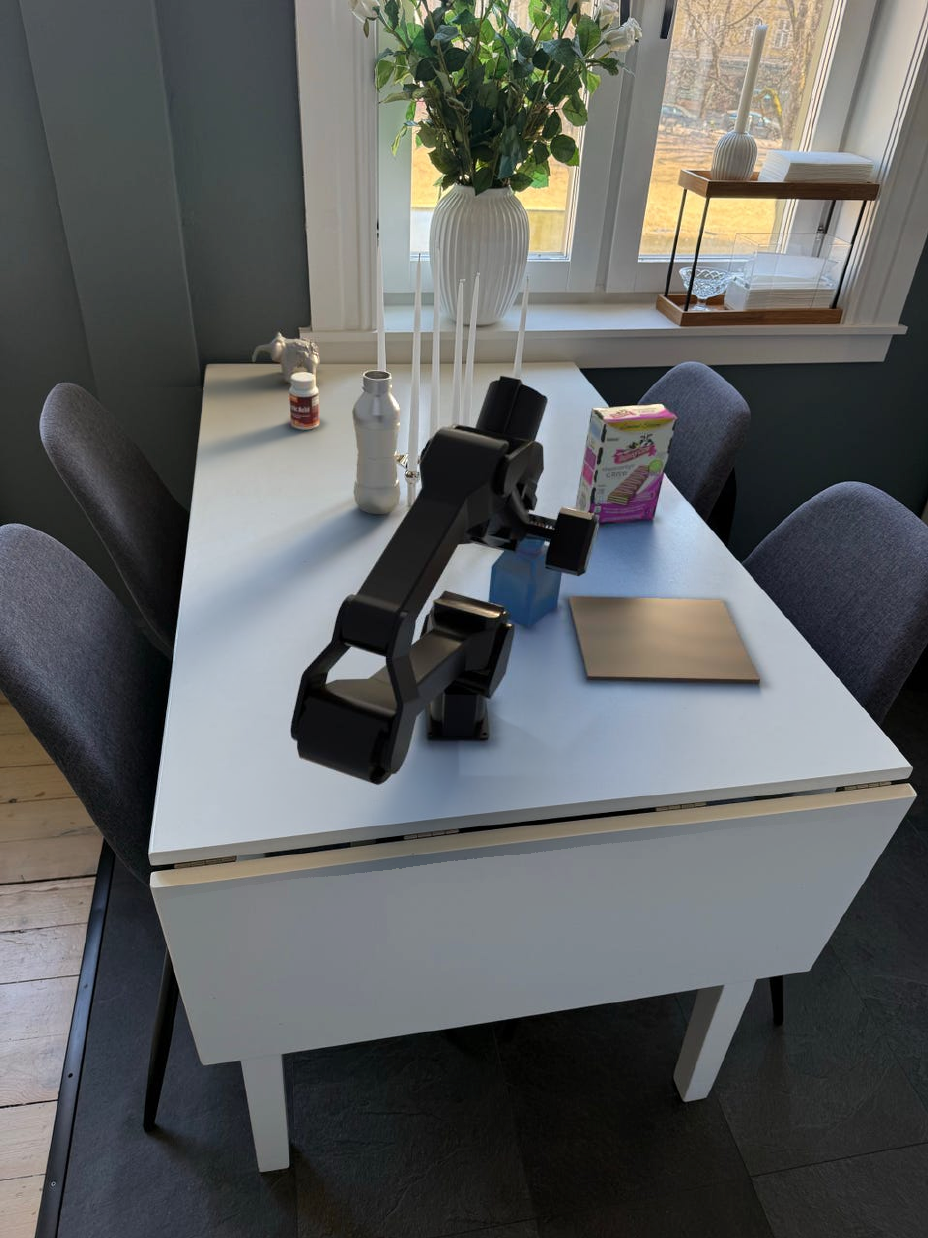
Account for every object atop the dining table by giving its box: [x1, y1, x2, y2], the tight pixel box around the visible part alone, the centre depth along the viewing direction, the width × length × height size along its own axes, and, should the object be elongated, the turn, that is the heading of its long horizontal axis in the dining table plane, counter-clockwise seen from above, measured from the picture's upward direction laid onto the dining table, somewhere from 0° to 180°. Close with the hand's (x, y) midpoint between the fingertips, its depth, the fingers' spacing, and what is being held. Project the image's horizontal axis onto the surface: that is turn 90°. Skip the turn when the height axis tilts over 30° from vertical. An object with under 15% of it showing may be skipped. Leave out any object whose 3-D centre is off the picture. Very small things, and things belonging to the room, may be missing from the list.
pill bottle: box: [288, 371, 320, 431], centre depth 152 cm, size 5×5×8 cm
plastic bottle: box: [351, 369, 402, 515], centre depth 126 cm, size 6×7×20 cm
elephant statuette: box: [251, 331, 321, 384], centre depth 168 cm, size 9×12×8 cm
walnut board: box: [567, 595, 761, 684], centre depth 110 cm, size 16×20×1 cm
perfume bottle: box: [487, 522, 563, 629], centre depth 111 cm, size 6×6×12 cm
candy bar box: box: [574, 403, 678, 526], centre depth 130 cm, size 11×5×16 cm, turn 108°
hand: (516, 547), depth 102 cm, fingers open, 9 cm apart
